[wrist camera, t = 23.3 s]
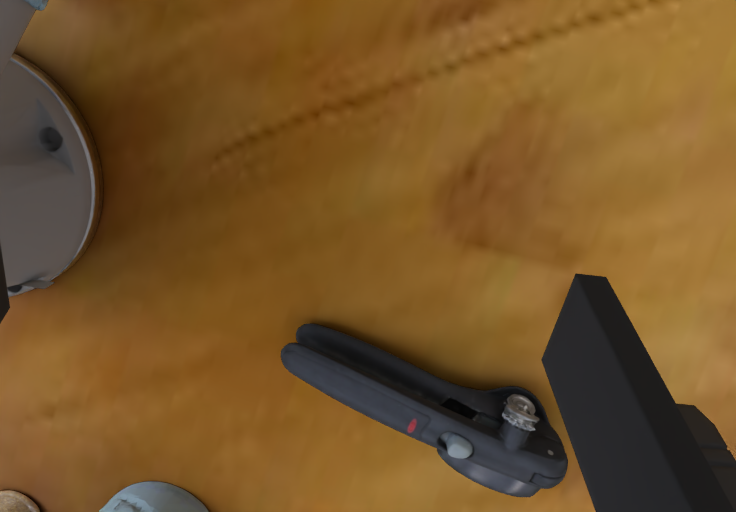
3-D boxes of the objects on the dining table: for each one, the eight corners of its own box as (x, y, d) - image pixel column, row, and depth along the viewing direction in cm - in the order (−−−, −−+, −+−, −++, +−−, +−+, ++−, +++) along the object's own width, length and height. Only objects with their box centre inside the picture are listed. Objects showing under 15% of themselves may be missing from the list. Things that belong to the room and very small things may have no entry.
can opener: (583, 403, 42) (599, 456, 37) (527, 489, 45) (535, 551, 39) (317, 277, 42) (295, 312, 37) (275, 370, 45) (248, 415, 39)
